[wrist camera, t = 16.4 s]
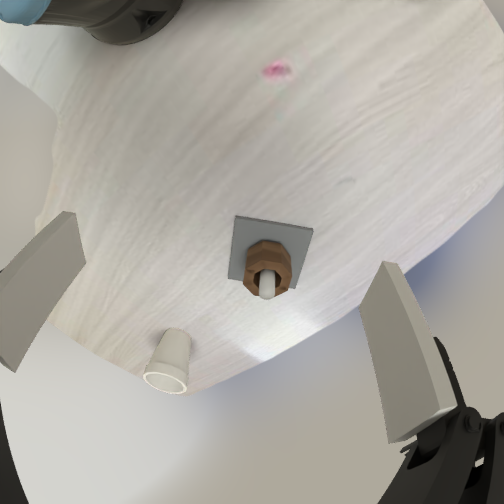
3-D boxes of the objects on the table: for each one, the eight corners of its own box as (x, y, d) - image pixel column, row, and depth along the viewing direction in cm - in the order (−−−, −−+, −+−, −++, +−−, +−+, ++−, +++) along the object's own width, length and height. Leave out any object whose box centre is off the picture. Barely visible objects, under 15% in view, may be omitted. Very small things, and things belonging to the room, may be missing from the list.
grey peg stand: (228, 275, 49) (220, 315, 41) (236, 215, 42) (227, 251, 34) (294, 285, 49) (297, 326, 41) (312, 228, 42) (321, 266, 34)
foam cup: (151, 329, 60) (134, 374, 49) (178, 318, 56) (162, 368, 46) (178, 351, 64) (166, 395, 53) (205, 342, 61) (195, 391, 50)
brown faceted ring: (243, 272, 46) (241, 293, 42) (249, 238, 42) (247, 257, 38) (284, 278, 46) (284, 299, 42) (293, 245, 42) (295, 265, 38)
